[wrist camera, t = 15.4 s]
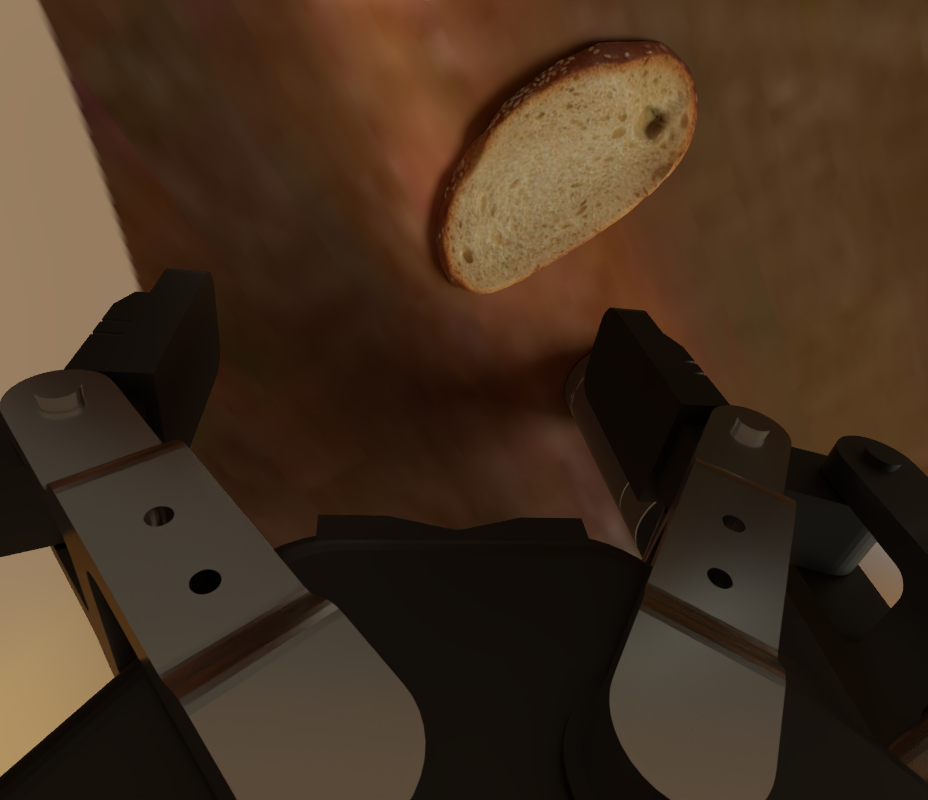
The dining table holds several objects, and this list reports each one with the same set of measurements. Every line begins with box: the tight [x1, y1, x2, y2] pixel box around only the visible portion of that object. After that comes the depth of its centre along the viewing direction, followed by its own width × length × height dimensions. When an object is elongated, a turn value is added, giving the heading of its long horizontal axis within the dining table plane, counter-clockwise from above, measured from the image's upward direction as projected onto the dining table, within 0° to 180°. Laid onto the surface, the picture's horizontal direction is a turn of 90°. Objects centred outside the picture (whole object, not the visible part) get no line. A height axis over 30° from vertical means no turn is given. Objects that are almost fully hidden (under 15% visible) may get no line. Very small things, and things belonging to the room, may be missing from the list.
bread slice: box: [436, 41, 698, 294], centre depth 42 cm, size 18×18×4 cm
